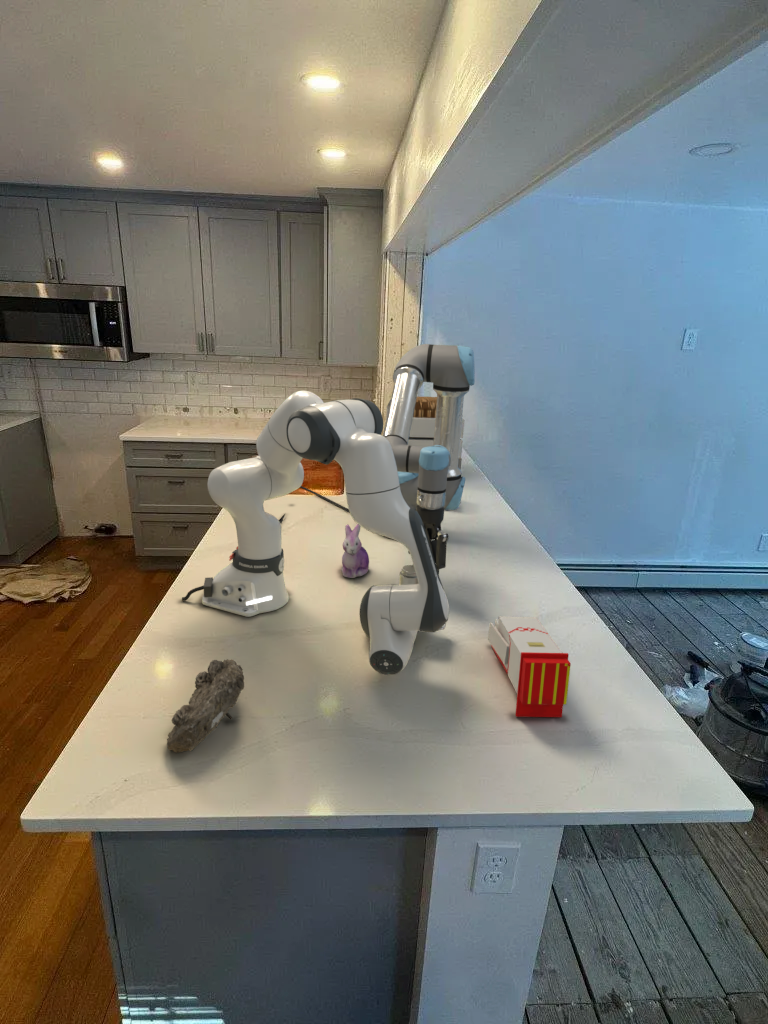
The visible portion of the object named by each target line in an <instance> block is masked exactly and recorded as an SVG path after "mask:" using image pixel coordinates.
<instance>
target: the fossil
mask: <svg viewBox="0 0 768 1024" xmlns="http://www.w3.org/2000/svg"><path fill="white" fill-rule="evenodd" d="M243 670H244V669H243V667H242V665H240V664H237V662H236V661H235V660H234V659H232V658H231V659H227V658H226V659H224V660H223V661H222V660H217V659H212V660H211V661H210V663H209V665H208V666H207V671H201V672H199V673H198V674H197V675H196V676H195V680H194V684H195V685H194V687H195V689H194V690H193V693H192V694H191V697H190V698H189V700H188V704H184V705H182V706H181V707H180V709H177V710H176V711H175V713H174V715H173V716H172V718H171V723H172V724H173V727H172V730H171V731H170V732H168V734H167V738H166V741H167V742H166V745H167V749H168V750H169V751H173V752H174V753H176V754H178V753H182V752H188V751H189V752H192V751H193V750H195V748H196V747H197V746H199V744H200V743H201V742H203V741H204V740H205V739H206V738H207V737H208V736H209V735H210V734H211V733H212V732H214V730H215V729H217V727H218V726H219V724H220V722H221V721H222V720H223V719H224V718H225V716H226V717H227V719H229V720H233V717H232V715H230V714H229V710H230V709H231V708H234V706H235V704H236V703H237V702H238V699H239V697H240V695H241V693H242V691H243V690H245V689H244V688H245V675H244V671H243Z"/></svg>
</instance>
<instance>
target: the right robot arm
mask: <svg viewBox="0 0 768 1024" xmlns="http://www.w3.org/2000/svg"><path fill="white" fill-rule="evenodd" d="M475 370H476V369H475V353H474V350H473V348H472V347H470V346H464V345H459V344H458V345H455V344H432V343H431V344H430V343H423V344H418V345H415V346H413V347H412V348H411V349H409V350H408V351H407V352H405V353H404V354H403V355H402V356H401V358H399V360H398V361H397V363H396V365H395V367H394V370H393V373H392V382H393V388H392V393H391V396H390V397H391V398H390V400H391V401H390V400H389V401H390V406H389V410H388V414H387V419H386V418H385V423H384V427H383V431H382V436H384V437H385V438H386V439H387V440H388V441H389V442H390V445H391V448H392V451H393V454H394V458H395V462H396V466H397V471H398V476H399V484H400V490H401V494H402V496H403V498H404V500H405V502H406V503H407V505H408V506H409V507H410V508H411V509H413V510H415V511H417V512H418V514H419V515H420V517H421V520H422V522H423V525H424V528H425V531H426V534H427V537H428V540H429V543H430V547H431V550H432V554H433V557H434V561H435V564H436V567H437V571H438V574H439V575H440V570H442V569H445V568H446V566H447V547H448V546H447V545H448V539H449V533H444V532H443V531H442V526H441V524H442V522H443V521H444V519H445V511H446V510H449V511H456V510H457V509H459V508H460V504H461V501H462V498H463V497H462V496H463V493H464V487H465V483H466V477H465V476H463V474H462V469H461V470H460V469H459V468H458V458H459V446H460V439H461V438H460V435H461V424H462V419H463V410H464V402H465V401H464V399H465V395H467V394H468V393H469V392H470V388H471V386H474V385H475V382H476V381H475V379H476V377H475V373H476V372H475ZM424 383H431V384H432V390H433V391H434V392H435V393H436V397H437V404H436V418H435V432H434V446H428V447H421V446H410V445H408V441H409V435H410V430H411V425H412V420H413V415H414V410H415V404H416V399H417V396H418V394H419V390H420V388H421V387H422V386H423V384H424ZM300 489H301V490H304V491H306V492H309V493H311V494H313V495H315V496H317V497H319V498H321V499H323V500H325V501H327V502H329V503H330V504H333V505H335V506H336V507H338V508H341V509H343V510H344V511H346V512H349V508H348V507H345V506H344V505H342V504H340V503H338V502H335V501H334V500H332V499H330V498H328V497H325V496H324V495H321V494H320V493H318V492H316V491H313V490H312V489H309V488H307V487H306V486H305V487H304V486H302V485H301V487H300ZM349 513H350V512H349ZM383 537H385V538H387V539H389V540H392V539H391V538H389V537H386V536H383ZM408 555H410V552H409V551H408ZM412 565H413V564H412ZM413 566H414V565H413Z"/></svg>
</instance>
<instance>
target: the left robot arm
mask: <svg viewBox="0 0 768 1024" xmlns="http://www.w3.org/2000/svg"><path fill="white" fill-rule="evenodd" d="M383 431H384V419H383V414H382V412H381V410H380V408H379V406H378V405H376V404H375V403H374V402H373V401H371V400H369V399H365V398H358V397H357V398H356V397H354V398H350V399H335V400H330V401H327V402H324V401H323V399H322V398H321V397H319V396H318V394H316V393H314V392H312V391H310V390H298V391H294V392H292V393H291V394H290V395H289V396H288V397H286V398H285V400H284V401H283V402H282V403H281V404H280V405H278V407H277V408H276V410H274V412H273V413H272V414H271V416H270V418H269V419H268V421H267V422H266V423H265V426H263V429H262V430H261V432H260V433H259V435H258V437H257V439H256V442H255V446H256V447H255V449H256V452H257V456H253V457H250V458H245V459H238V460H234V461H229V462H227V463H223V464H222V465H219V466H217V467H216V468H213V469H212V470H211V471H210V473H209V474H208V479H207V492H208V495H209V497H210V498H211V500H212V501H213V502H214V504H215V505H217V506H219V507H221V508H222V509H224V510H225V511H227V512H228V514H229V515H230V517H231V518H232V519H233V522H234V525H235V530H236V537H237V546H236V547H235V550H233V551H232V553H231V554H230V555H229V557H228V558H229V559H228V561H232V562H230V563H229V564H228V565H226V566H225V567H223V568H222V569H220V570H219V571H218V572H217V573H216V574H215V576H214V577H213V576H212V577H211V576H210V577H204V582H203V585H201V586H197V587H195V588H192V589H190V590H189V591H188V592H187V593H186V595H185V596H183V597H181V601H182V602H186V601H187V600H189V599H190V597H191V595H192V594H194V593H196V592H200V591H202V590H203V595H202V599H201V604H202V605H204V606H207V607H210V608H214V609H218V610H221V611H225V612H228V613H232V614H236V615H239V616H241V617H246V618H251V617H253V616H256V615H258V614H259V615H260V614H262V613H270V612H273V611H276V610H278V609H281V608H282V607H284V606H285V605H286V604H288V602H289V600H290V595H289V593H288V590H287V586H286V582H285V576H284V571H285V556H284V555H285V552H284V549H283V541H282V540H283V539H282V538H283V537H282V524H281V522H279V519H278V517H276V516H275V515H274V514H271V513H269V512H266V511H265V508H264V503H265V501H270V500H273V499H277V498H282V497H285V496H287V495H290V494H291V493H293V492H295V491H296V490H299V488H300V487H301V486H302V485H303V483H304V480H305V470H304V467H303V464H302V462H301V461H302V460H303V459H306V460H310V461H315V462H318V463H320V464H322V465H326V466H327V465H329V464H331V463H332V462H333V461H335V462H337V463H338V465H339V466H340V467H341V469H342V473H343V478H344V479H343V480H344V489H345V496H346V503H347V508H348V509H349V515H350V516H351V518H352V520H353V521H354V522H355V523H356V525H357V524H359V525H360V528H362V529H364V530H366V531H369V532H370V533H373V534H376V535H379V536H382V537H384V536H386V537H385V538H387V537H389V538H388V539H390V538H391V539H390V540H394V541H396V542H398V543H399V544H402V546H404V547H405V548H406V549H407V550H408V551H409V552H410V554H409V555H410V559H411V562H412V565H414V568H415V572H416V575H417V578H418V582H419V584H411V585H399V584H379V585H372V586H370V587H369V588H368V589H367V591H366V592H365V593H364V594H363V596H362V598H361V600H360V601H361V602H360V605H359V621H360V625H361V628H362V630H363V632H364V633H365V635H366V637H367V638H368V639H369V652H368V662H369V665H370V667H371V668H372V670H374V671H375V672H377V673H379V674H381V675H389V676H390V675H392V676H393V675H398V674H400V673H401V672H402V671H403V670H404V669H405V668H406V666H407V664H408V662H409V660H410V658H411V655H412V652H413V649H414V645H415V644H414V643H415V641H416V639H417V635H418V631H419V632H422V633H423V632H426V633H427V632H428V633H436V632H439V631H441V630H442V631H444V630H445V629H446V625H447V622H448V621H449V617H450V616H449V615H450V604H449V603H450V602H449V599H448V596H447V595H446V591H445V589H444V586H443V583H442V580H441V577H440V573H439V574H438V571H437V567H436V564H435V561H434V557H433V554H432V550H431V547H430V543H429V540H428V537H427V534H426V531H425V528H424V525H423V522H422V520H421V517H420V515H419V514H418V512H417V511H415V510H413V509H411V508H410V507H409V506H408V505H407V503H406V502H405V500H404V498H403V496H402V494H401V490H400V484H399V476H398V471H397V466H396V462H395V458H394V454H393V451H392V448H391V445H390V442H389V441H388V440H387V439H386V438H385V437H384V436H383ZM300 489H301V488H300Z"/></svg>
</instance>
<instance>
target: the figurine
mask: <svg viewBox="0 0 768 1024" xmlns="http://www.w3.org/2000/svg"><path fill="white" fill-rule="evenodd" d="M344 527H345V528H344V531H345V532H344V533H345V537H344V540H343V542H342V550H343V551H344V552H343V554H342V556H341V565H342V567H341V573H342V576H343V577H344V578H349V579H350V578H351V579H354V578H357V577H362V576H364V575H366V574H367V573H368V571H369V566H370V557H369V554H368V551H367V550H366V549H365V547H364V546H363V545H362V544H363V543H362V541H361V539H360V536H359V535H360V532H361V526H360V525H359V524H357V523H356V525H355V526H354V528H353V529H352V528H351V526H350V525H349V524H347V523H346V524H345V526H344Z"/></svg>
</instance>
